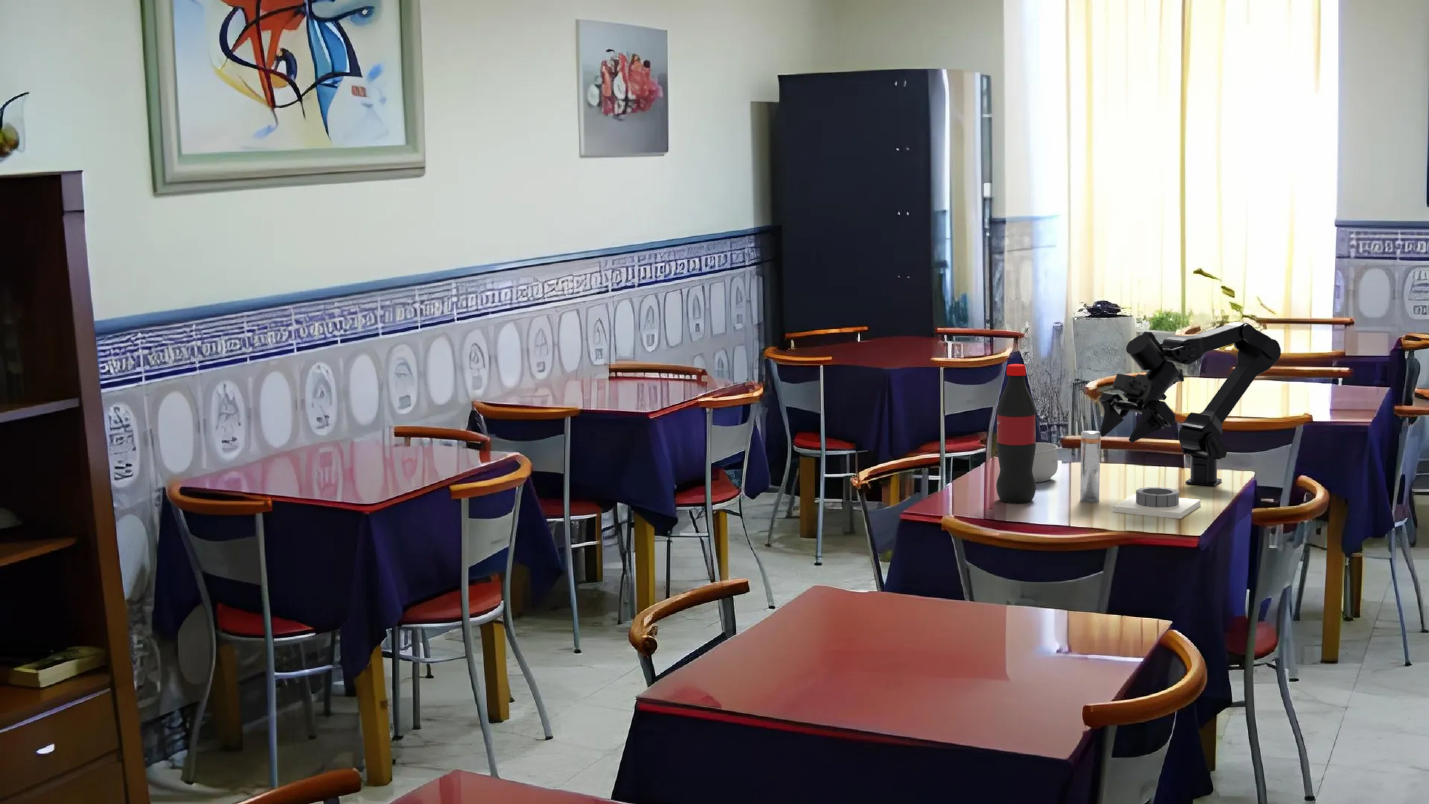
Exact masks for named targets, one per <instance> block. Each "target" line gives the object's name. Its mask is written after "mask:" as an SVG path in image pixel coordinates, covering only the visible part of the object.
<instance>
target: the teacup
mask: <svg viewBox="0 0 1429 804" xmlns="http://www.w3.org/2000/svg"><path fill="white" fill-rule="evenodd" d="M1058 450H1059V447H1058V445H1057V444H1055V443H1051V442H1050V443H1049V442H1036V450H1035V456H1034V462H1033V468H1032V472H1033V476H1034V479H1035V482H1036V483H1041V482H1047V481H1049V480H1051V479H1052V477H1053V476H1055V475H1056V474H1057V472H1058V468H1059V467H1058V466H1059V455H1058V454H1059V453H1058Z"/></svg>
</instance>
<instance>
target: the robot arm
mask: <svg viewBox="0 0 1429 804" xmlns="http://www.w3.org/2000/svg"><path fill="white" fill-rule="evenodd" d="M1230 345H1233V347H1234V348H1235V349H1236V350H1238V351H1237V352H1236V365H1235V367H1234V368H1233V369H1232V371H1231V372H1230V374H1229V375H1228V376H1227V377H1226V379H1225V380H1224V382H1223V383H1222V384H1221V386H1220V387H1219V389H1218V390H1217V391H1216V393H1215V394H1214V396H1213V397H1212V399H1211V400H1210V401H1209V403H1208V404H1207V405H1206V407H1205V408H1204V409H1203V410H1202V411H1201V412H1199V413H1198V412H1197V413H1196V412H1192V411H1191V412H1190V413H1188V415H1187V417H1186V418H1185V420H1184V421H1183V422H1182V423H1180V424H1179V425H1180V426H1181V427H1180V429H1179V431H1178V434H1177V435H1178V440H1179V441H1178V442H1179V444H1180V448H1181V451H1182V454H1183V455H1188V456H1190V478H1188V479H1187V480H1185V482H1184V483H1185V484H1188V485H1199V486H1200V485H1201V486H1210V487H1215V486H1216V485H1218V484H1219V483H1221V482H1222V480H1223V479H1222V478H1218V460H1222V459H1224V458H1226V456H1227V454H1228V447H1227V446H1226V445H1225V443H1224V442H1223V441H1222V440H1221V438H1222V436H1223V423H1224V422H1225V421H1226V419H1227V418H1228V416H1229V415H1230V413H1231V412H1233V409H1234V408H1235V407H1236V406H1237V403H1238V402H1239V401H1240V399H1241V398H1242V397H1243V395H1244V394H1245V392H1246V391H1247V390H1248V388H1249V387H1250V386H1251V384H1252V383H1253V382H1254V380H1255V379H1256V378H1257V377H1258V376H1259V375H1261V374H1263V373H1265V372H1267V371H1269V370H1270V369H1271V368H1272V367H1273V366H1274V365H1275V364H1276V363H1277V362H1278V361H1279V360H1280V357H1281V355H1282V349H1281V346H1280V343H1279V341H1278V340H1276V339H1274V338H1271V337H1270V336H1269V335H1266V334H1265V333H1263V332H1261V331H1260V330H1258V329H1256V328H1255V327H1254V326H1252V324H1250V323H1248V322H1241V321H1232V322H1229V323H1228V324H1226V325H1222V326H1220V327H1216V328H1213V329H1210V330H1208V331H1204V332H1201V333H1198V334H1194V335H1177V336H1169V337H1168V336H1167V337H1166V338H1164V339H1163V341H1162V342H1159V341H1158V340H1157V338H1156V337H1155V335H1154V333H1153V332H1152V331H1146V330H1145V331H1144V332H1143V333H1142V334H1140V335H1138V336H1136V337H1134V338H1133V339H1132V340H1130V341H1129V342H1128V343H1127V345H1126V348H1125V351H1126V353H1127V354H1128V355H1129V356H1130V357H1131V359H1132V360H1133V361H1134V362H1135V364H1136V365H1137V366H1138V367H1139V369H1141V371H1142V370H1143V371H1146V373H1145V374H1139V373H1138V374H1137V375H1135V376H1133V375H1129V374H1123V373H1117V374H1116V375H1115V379H1114V381H1113V384H1112V388H1113V389H1117V390H1119V391H1121V392H1123V393H1122V395H1123V397H1124V398H1125V399H1127V401H1126V400H1124V399H1123V398H1122V397H1121V396H1120V394H1119V393H1115V392H1109V391H1108V392H1103V393H1102V394H1101V395H1100V397H1099V398H1098V401H1099V403H1100V405H1101V406H1102V408H1103V410H1104V414H1103V418H1102V423H1101V427H1100V430H1099V432H1100V437H1102V438H1103V437H1105V436H1106V435H1108V434H1109V433H1110V432H1111V431H1112V430H1114V429H1115V428H1116V427H1118V425H1120V424H1121V423H1122V422H1123V421H1124V417H1127V416H1128V414H1129V412H1132V413H1138V414H1141V419H1139V421H1138V422H1137V424H1136V426H1135V427H1134V428H1133V431H1132V433H1131V434H1130V436H1129V437H1128V441H1129V443H1131V444H1132V443H1135V442H1137V441H1138V440H1140V439H1142V438H1145V437H1146V436H1148V435H1150V434H1153V433H1155V432H1157V431H1159V430H1161V429H1163V430H1164V429H1165V428H1167V427H1169V428H1171V427H1172V426H1173V424H1174V423H1175V421H1176V414H1175V412H1174V411H1173V410H1172V408H1171V407H1170V405H1168V404H1167V403H1166V399H1167V398H1168V396H1167V395H1166V394H1165V393H1166V392H1167V390H1168V389H1169V388H1170V387H1171V386H1172V384H1173V382H1182V383H1183V382H1184V381H1185V376H1184V373H1183V369H1181V368H1178V367H1177V366H1176V365H1175V364H1177V365H1185V366H1187V365H1192V364H1193V363H1195V362H1197V361H1199V360H1201V359H1202V357H1203V356H1204V354H1206V353H1209V352H1211V351H1214V350H1217V349H1220V348H1223V347H1228V346H1230Z"/></svg>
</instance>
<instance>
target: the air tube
mask: <svg viewBox="0 0 1429 804" xmlns="http://www.w3.org/2000/svg"><path fill="white" fill-rule="evenodd" d="M1080 434H1081V435H1080V492H1079V493H1080V496H1079V497H1080V498H1079V499H1080V500H1079V501H1080V502H1082V503H1089V504H1092V503H1099V502H1100V484H1101V483H1100V481H1101V479H1100V477H1101V476H1100V475H1101V474H1100V472H1101V471H1100V470H1101V442H1102V441H1101V440H1102V439H1101V436H1100V431H1098V430H1097V431H1096V430H1084V431H1081V432H1080Z"/></svg>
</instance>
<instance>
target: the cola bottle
mask: <svg viewBox="0 0 1429 804" xmlns="http://www.w3.org/2000/svg"><path fill="white" fill-rule="evenodd" d="M1026 369H1027V368H1026V365H1025V364H1021V363H1011V364H1008V365H1007V367H1006V377H1007V382H1006V386H1005V388H1004V390H1003V392H1002V394H1001V396H1000V398H999V401H998V404H997V406H996V410H995V411H996V452H997V459H998V464H999V465H998V466H999V474H998V475H997V476H998V477H997V480H996V483H995V484H996V486H995V487H996V493H997V496H998V498H999V500H1000V501H1002V502H1004V503H1009V504H1027V503H1029V502H1031V501H1032V500H1033V499H1034V498H1035V494H1036V490H1037V484H1036V483H1037V482H1035V479H1034V476H1033V472H1032V468H1033V462H1034V456H1035V450H1036V443H1037V442H1036V414H1037V409H1036V405H1035V403H1034V400H1033V398H1032V396H1031V394H1030V391H1029V389H1028V386H1027V384H1026V379H1025V377H1026V376H1027V370H1026Z"/></svg>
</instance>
